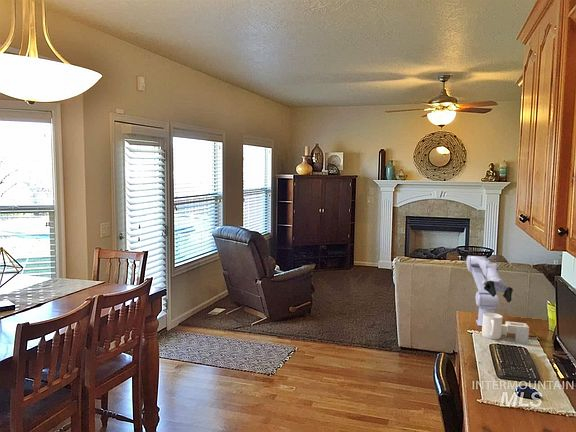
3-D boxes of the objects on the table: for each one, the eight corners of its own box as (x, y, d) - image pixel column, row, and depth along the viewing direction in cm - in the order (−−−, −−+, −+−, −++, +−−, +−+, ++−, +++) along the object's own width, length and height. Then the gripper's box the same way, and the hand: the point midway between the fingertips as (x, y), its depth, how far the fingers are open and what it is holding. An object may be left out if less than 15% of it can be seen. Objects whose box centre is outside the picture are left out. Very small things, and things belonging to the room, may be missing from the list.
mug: (502, 343, 212) (503, 321, 211) (482, 340, 215) (484, 318, 214) (500, 335, 223) (501, 314, 223) (481, 332, 226) (482, 311, 225)
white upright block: (514, 342, 214) (515, 327, 214) (526, 343, 213) (527, 328, 213) (515, 343, 213) (516, 328, 212) (527, 345, 211) (528, 329, 211)
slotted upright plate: (483, 330, 230) (484, 319, 230) (525, 334, 226) (526, 323, 225) (485, 334, 224) (486, 323, 223) (528, 339, 219) (529, 327, 218)
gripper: (485, 268, 225) (492, 286, 213) (513, 279, 226) (521, 296, 214) (477, 279, 229) (483, 297, 217) (505, 289, 229) (512, 308, 217)
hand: (502, 298), depth 216 cm, fingers open, 7 cm apart
